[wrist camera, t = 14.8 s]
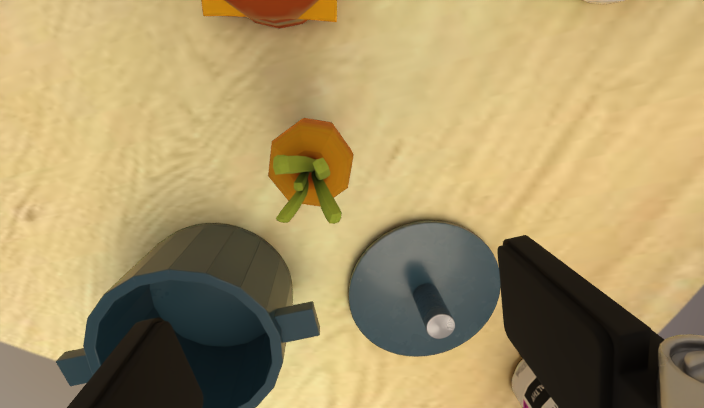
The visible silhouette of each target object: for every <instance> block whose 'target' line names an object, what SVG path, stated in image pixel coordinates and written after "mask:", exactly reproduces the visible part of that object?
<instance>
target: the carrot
mask: <svg viewBox="0 0 704 408" xmlns="http://www.w3.org/2000/svg"><path fill="white" fill-rule="evenodd" d="M353 155H354V154H353V152H352V151H351V149H350V147H349V146H348V145H347V143H346V142H345V140H344V139H343V137H342V136H341V135H340V133H339V132H338V130H337V129H336V128H335V126H334V125H333V123H332V122H326V121H320V120H314V119H309V118H303V119H301V120H300V121H298V122H297V123H296V124H294V125H293V126H292V127H290V128H289V129H288V130H286V131H285V132H284V133H282V134H281V135H280V136H278V137H277V138H276V139H274V140H273V141H272V145H271V154H270V164H269V173H268V176H269V178H270V179H271V180H272V181H273V182H274V184H275V185H276V186H277V187H278V189H279V190H280V191H281V192H282V193H283V195H284V196H285V197H286V198H287V200H288V201H289V202H288V203H287V204H286V205H285V207H284V208H283V209H282V210H281V212H280V213H279V215H278V216H277V218H276V219H277V220H278V221H279V222H283V223H287V222H289V221H290V220H291V219H292V218H293V216H294V215H295V214H296V212H297V211H298V209H299V208H300V206H301V204H307V205H314V206H321V209H322V211H323V213H324V215H325V217H326V219H327V220H328V222H329V223H333V224H335V223H337V222H339V221H340V219H341V214H342V213H341V211H340V208H339V207H338V205H337V203H336V202H335V200H334V197H335V196H337V195H338V194H340V193H341V192H342V191H344V190H345V189H347V188H348V184H349V178H350V172H351V167H352V161H353Z"/></svg>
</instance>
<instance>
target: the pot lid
mask: <svg viewBox="0 0 704 408" xmlns="http://www.w3.org/2000/svg"><path fill="white" fill-rule="evenodd" d="M499 294H500V274H499V267H498V264H497V261H496V259H495V257H494V255H493V253H492V251H491V250H490V249H489V247H488V246H487V245H486V244H485V243H484V242H483V241H482V240H481V239H480V238H479V237H478V236H477V235H475V234H474V233H473V232H471V231H469V230H468V229H466V228H464V227H462V226H459V225H456V224H453V223H449V222H444V221H419V222H413V223H409V224H405V225H402V226H400V227H397V228H395V229H393V230H391V231H389V232H387V233H385V234H384V235H382V236H381V237H380V238H378V239H377V240H376V241H375V242H373V243H372V244H371V245H370V246H369V247H368V248H367V249H366V251H365V252H364V253H363V254H362V255H361V257H360V259H359V260H358V262H357V263H356V266H355V268H354V270H353V272H352V275H351V279H350V284H349V305H350V310H351V313H352V317H353V319H354V321H355V323H356V325H357V326H358V328H359V329H360V331H361V332H362V333H363V334H364V335H365V336H366V338H367V339H369V340H370V341H371V342H372V343H374V344H375V345H377V346H379V347H380V348H382V349H384V350H387V351H389V352H392V353H395V354H399V355H405V356H429V355H435V354H439V353H443V352H445V351H448V350H451V349H453V348H455V347H457V346H459V345H461V344H463V343H464V342H466V341H467V340H469V339H470V338H471V337H473V336H474V335H475V334H476V333H477V332H478V331H479V330H480V329H481V328H482V327H483V326H484V325H485V324H486V322H487V321H488V320H489V318H490V316H491V315H492V313H493V311H494V309H495V307H496V305H497V301H498V298H499Z"/></svg>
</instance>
